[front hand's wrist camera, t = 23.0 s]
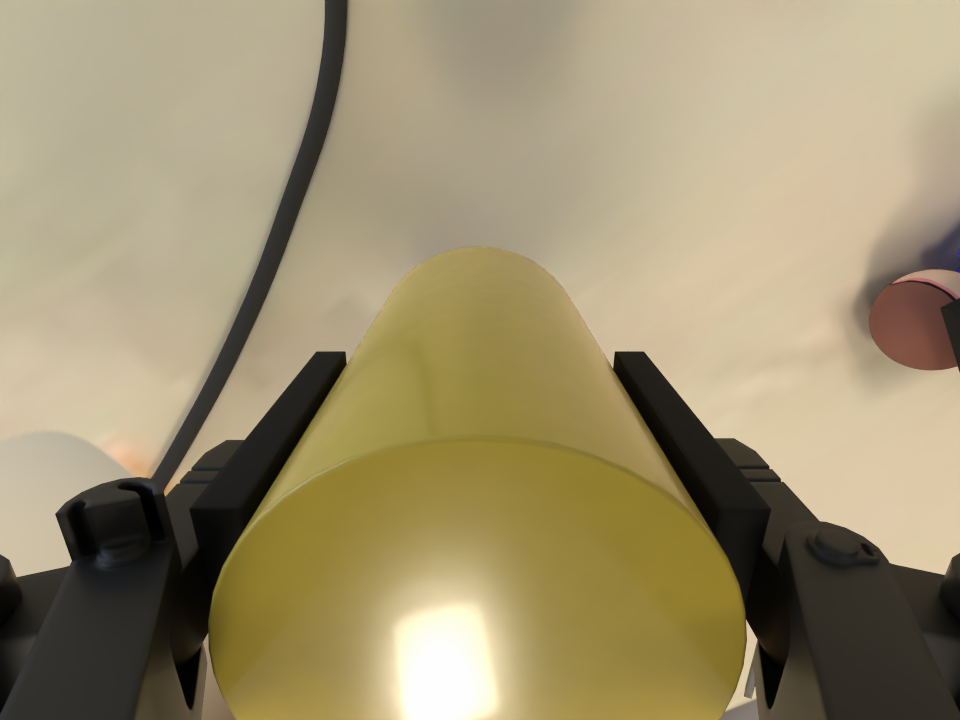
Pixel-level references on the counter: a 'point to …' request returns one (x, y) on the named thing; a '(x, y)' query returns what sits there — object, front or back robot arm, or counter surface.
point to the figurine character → (920, 320)
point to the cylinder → (477, 531)
